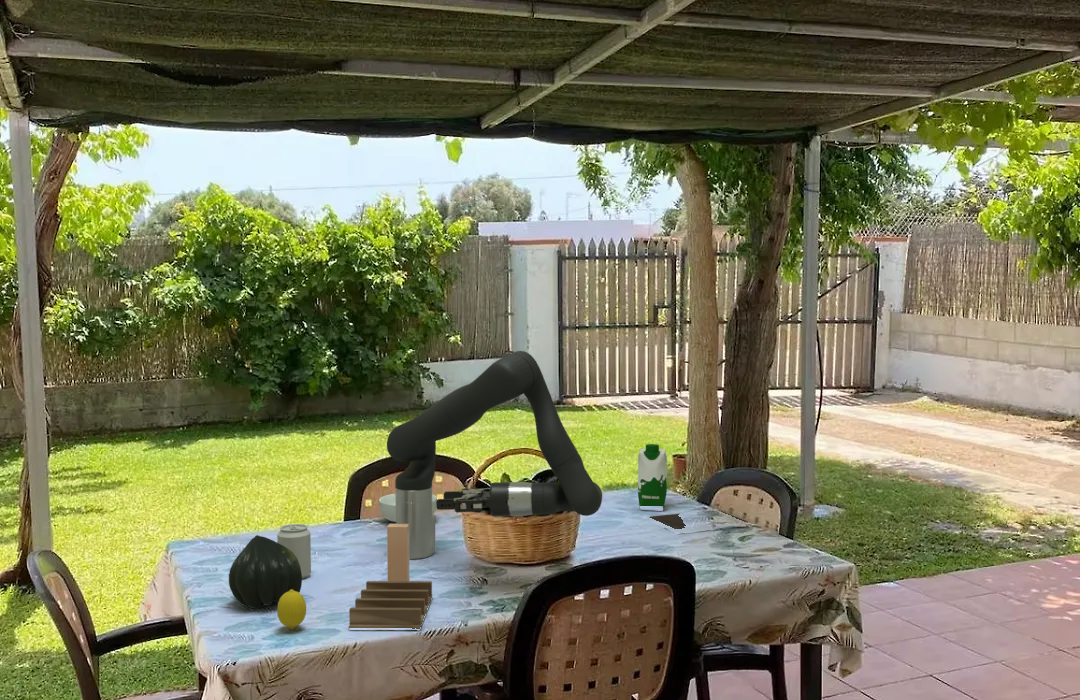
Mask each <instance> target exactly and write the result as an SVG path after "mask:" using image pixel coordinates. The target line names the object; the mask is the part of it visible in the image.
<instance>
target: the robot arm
mask: <svg viewBox="0 0 1080 700" xmlns="http://www.w3.org/2000/svg"><path fill="white" fill-rule="evenodd" d="M522 395H524V396H525V397H526V399H527V401H528V402H529V404H530V407H531V410H532V413H533V417H534V422H535V423H534V424H535V431H536V437H537V442H538V447H539V449H540V452H541V453H542V455H543V457H544V459H545V461H546V463H547V464H548V466H549V467H550V469H551V471H552V472H553V474H554V476H555V477H556V479H557V480H558V482H526V481H506V482H504V481H499V482H498V481H497V482H495V481H494V482H492V483H490V486H489V487H487V488H485V487H483V488H482V487H481V488H480V487H479V488H469V487H466V488H465V489H461V490H459V491H456V490H455V491H453V490H452V491H444V493H443V498H437V501H436V505H437V507H436V510H439V511H440V510H441V511H442V510H453V511H454V512H455V513H457V514H458V513H472V512H474V513H475V512H478V513H480V512H483V509H485V508H489V509H490V510H489V512H490V515H491V516H492V517H525V516H531V515H535V516H536V515H537V516H539V515H540V516H541V515H554V514H556V513H559V512H575V513H577V515H580V516H585V517H589V516H592V515H594V514H595V513H597V512H598V511H599V509H600V508H601V505H602V501H603V491H602V489H601V487H600V486H599V484H597V483H596V482H594V481H593V479H592V478H591V476H590V475H589V473H588V471H587V469H586V468H585V465H584V461H583V459H582V456H581V455H580V453H579V452H578V450H577V448H576V446H575V445H574V442H573V441H572V440H571V437H570V436H569V433H568V432H567V431H566V429H565V426H564V425H563V423H562V420H561V418H560V416H559V414H558V410H557V408H556V405H555V402H554V401H553V398H552V395H551V393H550V389H549V388H548V385H547V383H546V380H545V378H544V375H543V373H542V370H541V368H540V366H539V364H538V362H537V360H536V359H535V358H534V357H533V356H532V355H531V354H530V353H529V352H527V351H525V350H517V351H516V350H515V351H514V352H511V353H510V354H507V355H504V356H503V357H502V358H499V359H497V360H496V361H494V362H493V363H492V364H491V365H489V366H488V367H487V368H486V369H485V370H484V371H483V372H482V373H481V374H480V375H478V377H476V378H475V379H474V380H472V382H469V383H468V384H465V385H462V386H460V387H458V388H456V389H455V390H453V391H451V392H450V393H448V394H447V395H445V396H444V397H442V398H440V400H438V401H437V402H435V403H434V404H432V405H431V406H430V407H428V408H427V409H425V410H424V411H423V412H421V413H420V414H418V415H417V416H415V417H413V418H412V419H410V420H408V421H406V422H403V423H401V424H399V425H396V426H395V427H394V428H393V429H392V430H391V431H390V432H389V434H388V436H387V440H386V450H387V453H388V454H389V456H390V457H391V459H394V460H395V461H398V462H401V463H402V462H403V463H408V462H410V463H409V465H408V467H407V468H406V469H404V470H403V471H402V472H400V473H399V474H397V475H396V477H395V482H394V483H395V487H394V488H395V489H394V491H395V493H394V494H395V500H396V523H395V524H409V560H410V559H411V560H418V559H425V558H428V557H430V556H432V555H433V554H435V553H436V548H437V547H436V516H435V514H433V515H432V494H433V480H434V477H435V474H436V473H435V472H436V457H437V456H436V452H437V450H436V449H437V442H438V441H441V440H444V439H447V438H450V437H453V436H457V435H458V434H460V433H463V432H464V431H465V430H466V431H467V429H469V428H470V427H472V426H474V425H475V424H476V423H478V422H479V421H480V420H481V419H482V418H483V416H484V415H485V414H486V412H488V411H489V410H491V409H492V408H495V407H497V406H499V405H501V404H503V403H506V402H510V401H511V400H514V399H516V398H518V397H520V396H522ZM461 504H462V505H461Z"/></svg>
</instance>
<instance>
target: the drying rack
mask: <svg viewBox="0 0 1080 700" xmlns="http://www.w3.org/2000/svg"><path fill="white" fill-rule="evenodd" d="M432 583H433V582H432V581H431V580H430V581H427V580H423V581H422V580H420V581H419V580H416V581H413V580H410V581H388V580H378V581H377V580H372V581H371V580H367V581H366V583H365V589H361V590H360V597H356V598H355V600H354V601H355V604H354V605H355V606H354V607H350V608H349V610H348V613H349V615H348V617H349V621H348V622H349V625H348V629H349V628H412V629H415V628H416V629H420V627H421V624H422V622H423V619H424V616H425V614H426V611H427V608H428V606H429V604H430V605H431V603H430V601H431V598H432V599H433V584H432ZM431 602H432V601H431ZM429 607H430V606H429ZM428 609H429V608H428ZM427 612H428V611H427ZM426 615H427V614H426ZM425 617H426V616H425ZM424 620H425V619H424ZM423 623H424V622H423ZM422 625H423V624H422ZM421 628H422V627H421Z"/></svg>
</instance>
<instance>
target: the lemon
mask: <svg viewBox="0 0 1080 700" xmlns="http://www.w3.org/2000/svg"><path fill="white" fill-rule="evenodd" d="M306 604H307V603H306V600H305V598H304V596H303V594H302V593H301V592H296V591H294V590H289V591H288V592H286V593H285V594H283V595H282V597H281V598H280V600H279V602H277V611H276V613H277V618H278V621H279V622H280V623H281V625H283V626H284V627H286V628H288V629H290V630H291V629H293V630H294V629H296V627H298V626H299V625H301V624H302V623H303V621H304V620H305V619H306V616H307V605H306Z"/></svg>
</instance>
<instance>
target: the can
mask: <svg viewBox="0 0 1080 700" xmlns="http://www.w3.org/2000/svg"><path fill="white" fill-rule="evenodd" d="M276 535H277V537H276V539H277V541H276V542H277V543H279V544H281V545H283V546H285V547H286V548H288V549H289V550H291V551H292V552H293V553H294V554H295V556H296V557H297V559H298V561H299V564H300V567H301V573H302V580H304V578H305V579H306V578H308V576H310V574H311V573H312V554H311V553H312V550H311V549H312V548H311V545H312V544H311V530H309V529H308V525H307V524H303V523H290V524H285V525H282V526H280V527H279V531H278V533H277V534H276Z"/></svg>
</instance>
